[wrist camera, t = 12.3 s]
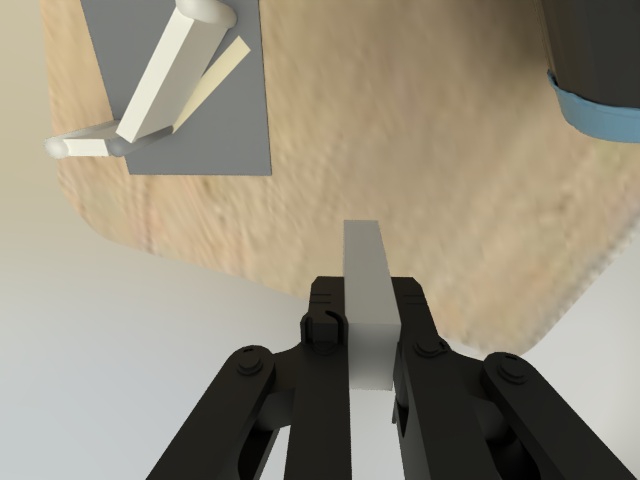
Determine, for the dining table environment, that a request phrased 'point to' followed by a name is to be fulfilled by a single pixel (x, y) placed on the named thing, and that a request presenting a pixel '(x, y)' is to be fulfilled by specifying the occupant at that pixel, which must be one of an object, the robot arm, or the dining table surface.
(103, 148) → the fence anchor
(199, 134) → the card
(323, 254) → the dining table surface
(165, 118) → the fence panel
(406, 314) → the robot arm
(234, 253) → the dining table surface
